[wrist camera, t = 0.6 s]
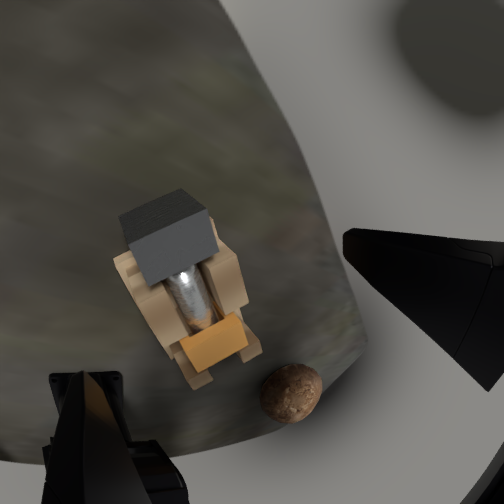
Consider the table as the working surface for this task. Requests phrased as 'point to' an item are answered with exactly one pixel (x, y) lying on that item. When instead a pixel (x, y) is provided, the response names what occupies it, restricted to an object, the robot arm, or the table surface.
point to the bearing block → (170, 317)
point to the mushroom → (291, 393)
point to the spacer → (215, 341)
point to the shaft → (174, 251)
